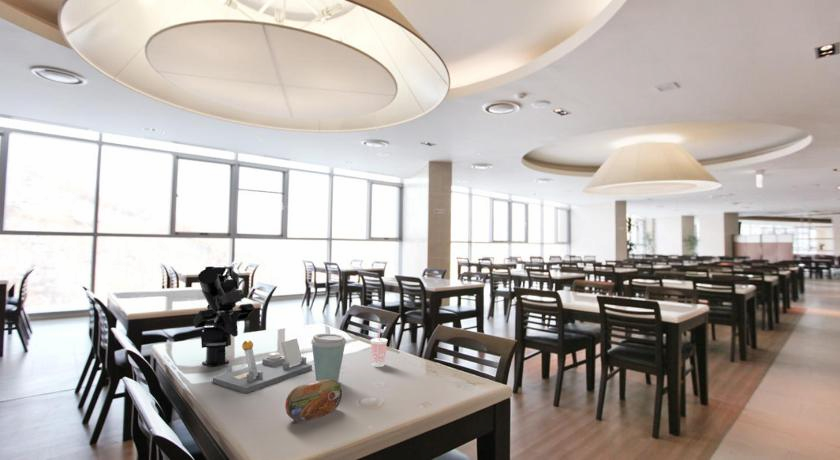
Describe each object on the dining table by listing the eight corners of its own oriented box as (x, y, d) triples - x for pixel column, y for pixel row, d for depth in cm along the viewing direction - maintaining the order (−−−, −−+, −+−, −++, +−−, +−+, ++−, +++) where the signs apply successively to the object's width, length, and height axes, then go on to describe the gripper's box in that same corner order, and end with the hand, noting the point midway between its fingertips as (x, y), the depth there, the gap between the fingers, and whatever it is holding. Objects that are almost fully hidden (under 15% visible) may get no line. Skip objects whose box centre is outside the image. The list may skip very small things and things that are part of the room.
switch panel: (212, 382, 125) (212, 371, 125) (280, 361, 148) (280, 351, 148) (245, 393, 117) (246, 381, 117) (312, 369, 139) (312, 358, 140)
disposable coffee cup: (333, 375, 134) (334, 329, 134) (351, 384, 126) (353, 335, 126) (303, 382, 126) (305, 334, 127) (321, 392, 119) (323, 341, 119)
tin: (288, 426, 97) (289, 391, 97) (283, 422, 99) (284, 387, 99) (342, 409, 107) (343, 377, 107) (335, 405, 110) (336, 374, 110)
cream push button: (266, 360, 140) (266, 354, 140) (274, 357, 143) (275, 351, 143) (273, 361, 138) (273, 355, 138) (281, 359, 141) (282, 353, 141)
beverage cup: (388, 362, 149) (389, 324, 149) (385, 367, 142) (386, 328, 143) (372, 361, 149) (372, 323, 150) (368, 367, 143) (369, 327, 143)
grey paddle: (286, 366, 136) (281, 342, 137) (300, 361, 141) (294, 339, 142) (288, 365, 135) (283, 341, 137) (302, 361, 140) (296, 338, 142)
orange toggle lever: (246, 379, 123) (239, 342, 126) (255, 376, 126) (247, 340, 129) (253, 377, 122) (245, 340, 124) (262, 374, 125) (254, 338, 127)
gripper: (199, 284, 124) (220, 325, 118) (252, 280, 140) (272, 315, 134) (184, 307, 128) (203, 347, 122) (236, 300, 144) (256, 335, 138)
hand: (236, 335), depth 129 cm, fingers closed
